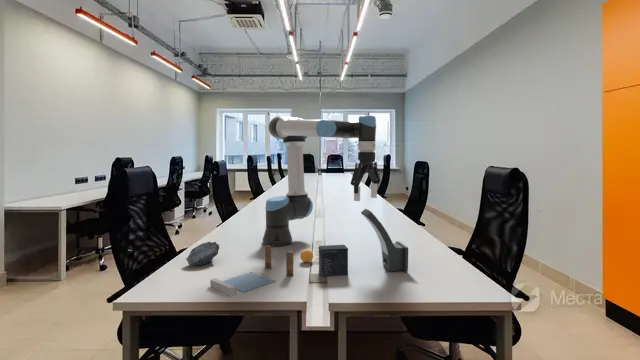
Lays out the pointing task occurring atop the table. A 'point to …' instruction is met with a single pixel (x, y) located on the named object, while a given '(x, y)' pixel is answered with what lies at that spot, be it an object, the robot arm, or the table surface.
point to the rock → (203, 253)
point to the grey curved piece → (388, 246)
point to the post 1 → (267, 257)
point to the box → (333, 260)
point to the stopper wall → (223, 286)
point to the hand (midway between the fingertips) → (365, 199)
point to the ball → (306, 255)
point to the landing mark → (248, 281)
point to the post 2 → (289, 263)
